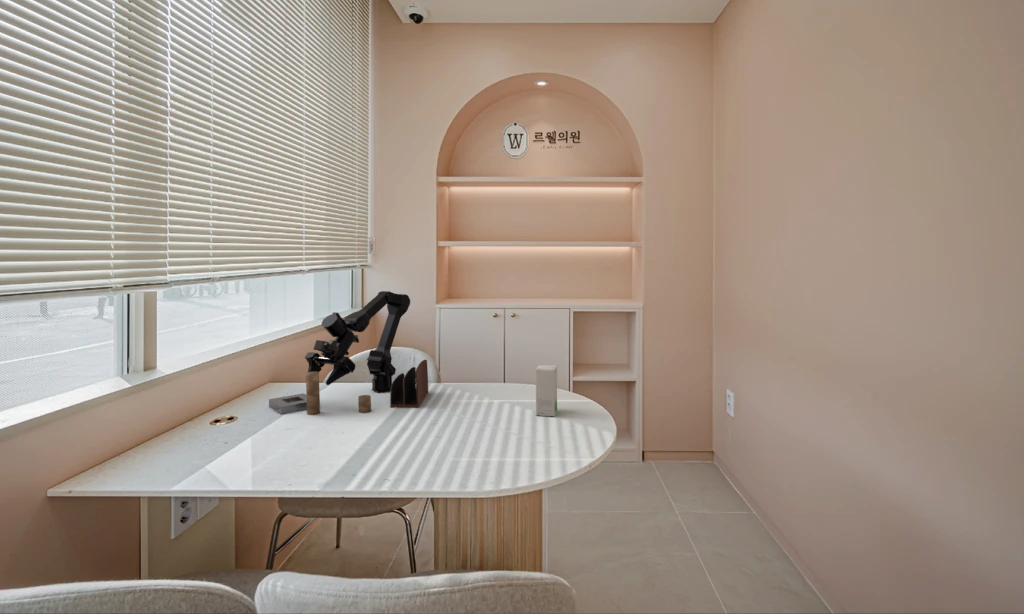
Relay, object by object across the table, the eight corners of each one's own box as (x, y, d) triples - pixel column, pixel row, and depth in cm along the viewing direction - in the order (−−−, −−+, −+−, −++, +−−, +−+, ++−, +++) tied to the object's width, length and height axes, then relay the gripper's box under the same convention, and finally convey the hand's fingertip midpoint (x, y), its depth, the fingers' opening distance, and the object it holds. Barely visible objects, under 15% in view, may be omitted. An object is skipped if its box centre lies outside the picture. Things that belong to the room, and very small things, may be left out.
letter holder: (428, 393, 199) (428, 356, 197) (418, 408, 179) (418, 368, 178) (402, 393, 199) (401, 356, 198) (389, 408, 179) (389, 367, 178)
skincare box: (554, 417, 170) (555, 370, 168) (534, 416, 171) (534, 369, 169) (557, 410, 178) (558, 364, 176) (538, 408, 179) (538, 364, 178)
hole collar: (304, 400, 188) (303, 393, 187) (317, 407, 179) (317, 400, 179) (269, 406, 180) (268, 399, 179) (281, 414, 171) (280, 406, 171)
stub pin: (368, 408, 178) (367, 394, 177) (372, 411, 175) (372, 396, 174) (356, 410, 175) (356, 396, 175) (361, 413, 172) (360, 398, 172)
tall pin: (317, 410, 175) (316, 371, 174) (321, 413, 172) (320, 373, 171) (305, 412, 173) (304, 372, 172) (309, 415, 170) (307, 374, 168)
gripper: (308, 329, 181) (282, 366, 172) (348, 333, 172) (323, 372, 163) (326, 348, 188) (302, 384, 179) (365, 353, 180) (342, 391, 171)
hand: (316, 382), depth 173 cm, fingers open, 9 cm apart
